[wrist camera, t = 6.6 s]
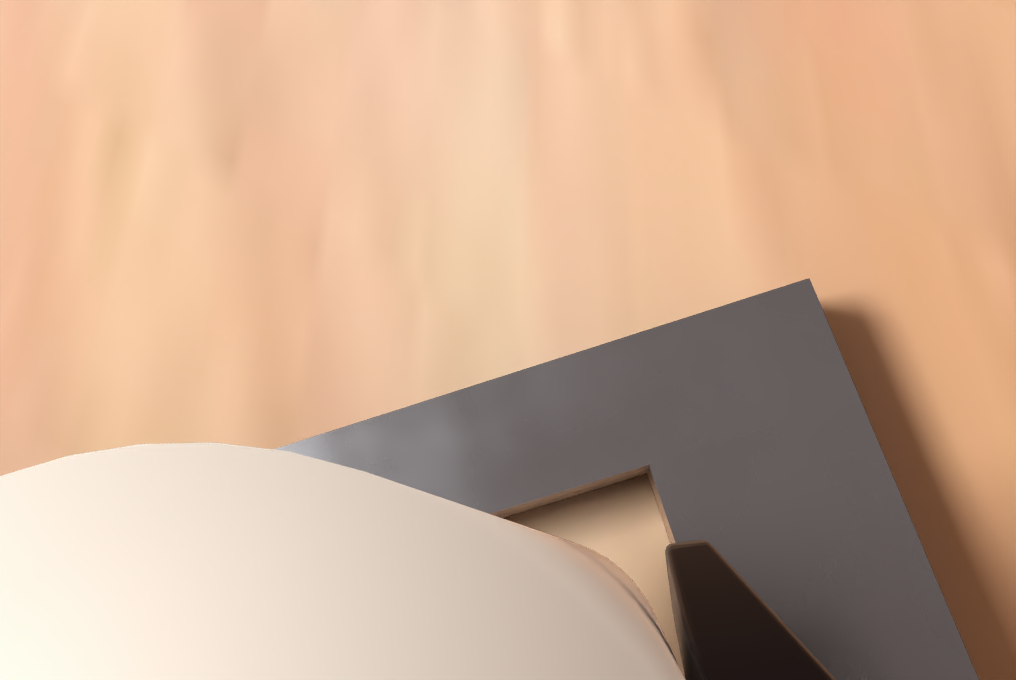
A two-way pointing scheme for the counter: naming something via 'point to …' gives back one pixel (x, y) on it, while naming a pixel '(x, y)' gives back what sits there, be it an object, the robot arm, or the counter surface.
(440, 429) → the grey flat block
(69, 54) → the counter surface
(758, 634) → the robot arm
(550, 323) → the counter surface
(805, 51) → the counter surface
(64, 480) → the cream peg
